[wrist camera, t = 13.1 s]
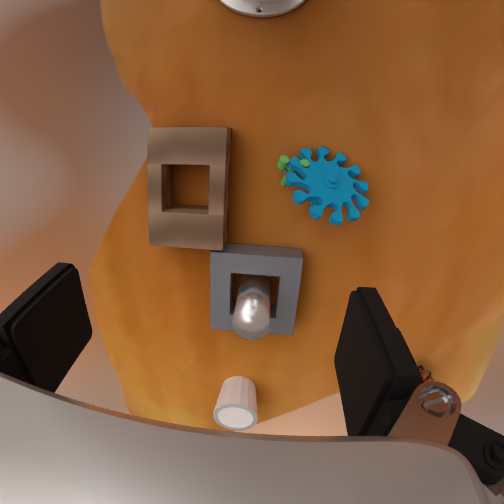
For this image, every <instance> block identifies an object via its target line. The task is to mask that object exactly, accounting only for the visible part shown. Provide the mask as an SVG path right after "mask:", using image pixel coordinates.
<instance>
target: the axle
mask: <svg viewBox="0 0 504 504" xmlns="http://www.w3.org/2000/svg"><path fill="white" fill-rule="evenodd" d="M232 327H233V330H234V331H235V333H236V334H237V335H238V336H240V337H241V338H244V339H247V340H256V339H260V338H262V337H263V336H265V335H266V334H267V332H268V330H269V327H270V279H269V277H268V276H265V275H252V274H244V275H243V276H242V278H241V282H240V287H239V291H238V296H237V301H236V306H235V311H234V316H233V321H232Z"/></svg>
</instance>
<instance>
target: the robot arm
mask: <svg viewBox="0 0 504 504" xmlns="http://www.w3.org/2000/svg"><path fill="white" fill-rule="evenodd" d="M219 1H220V2H221V3H222V4H223V5H224V6H225V7H227V8H229V9H230V10H232V11H234V12H236V13H239V14H242V15H246V16H250V17H261V18H263V17H274V16H279V15H283V14H285V13H288V12H291V11H292V10H294V9H296V8H298V7H299V6H300V5H301V4H302V3H303V2H304V1H305V0H219ZM258 11H262V12H260V13H259V12H258ZM91 336H92V327H91V324H90V320H89V316H88V312H87V308H86V304H85V300H84V295H83V291H82V287H81V282H80V277H79V272H78V270H77V269H76V268H75V267H74V265H73V264H69V263H60V262H59V263H57V264H56V265H54V266H53V267H52V268H51V269H50V270H48V271H47V272H46V273H45V274H44V275H43V276H41V277H40V278H39V279H38V280H37V281H36V282H35V283H33V284H32V285H31V286H30V287H29V288H28V289H27V290H25V292H23V293H22V294H21V295H20V296H19V297H18V298H17V299H15V300H14V301H13V302H12V303H11V304H10V305H9V306H8V307H7V308H6V309H5V310H4V311H3V312H2V313H1V314H0V504H504V436H503V435H501V434H499V433H497V432H495V431H493V430H491V429H489V428H487V427H485V426H484V425H482V424H480V423H478V422H476V421H474V420H472V419H470V418H468V417H466V416H464V415H462V414H460V412H461V406H462V404H461V400H460V398H459V396H458V394H457V393H456V392H455V391H454V390H453V389H452V388H451V387H449V386H448V385H446V384H444V383H440V382H435V381H429V382H424V380H423V378H422V376H421V373H420V371H419V369H418V367H417V365H416V363H415V361H414V358H413V356H412V354H411V352H410V350H409V348H408V346H407V344H406V342H405V340H404V338H403V336H402V334H401V332H400V330H399V329H398V328H396V326H395V324H394V322H393V320H392V318H391V316H390V314H389V312H388V310H387V308H386V307H385V305H384V303H383V301H382V299H381V297H380V295H379V293H378V291H377V290H376V288H371V287H358V288H357V290H356V291H352V292H351V294H350V297H349V302H348V306H347V310H346V314H345V318H344V322H343V326H342V330H341V334H340V338H339V342H338V345H337V349H336V353H335V358H334V364H335V369H336V374H337V379H338V384H339V389H340V394H341V400H342V405H343V411H344V416H345V422H346V428H347V432H348V436H287V435H267V434H252V433H239V432H230V431H221V430H212V429H205V428H198V427H191V426H185V425H179V424H173V423H167V422H162V421H156V420H151V419H147V418H142V417H137V416H133V415H129V414H124V413H120V412H116V411H112V410H108V409H104V408H101V407H97V406H94V405H90V404H87V403H84V402H80V401H77V400H74V399H71V398H67V397H65V396H62V395H59V394H56V393H55V391H56V390H57V388H58V386H59V385H60V383H61V382H62V380H63V379H64V377H65V376H66V374H67V372H68V371H69V370H70V368H71V367H72V365H73V364H74V362H75V361H76V359H77V358H78V356H79V355H80V353H81V352H82V350H83V349H84V347H85V346H86V345H87V343H88V342H89V340H90V339H91Z"/></svg>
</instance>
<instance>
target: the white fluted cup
mask: <svg viewBox="0 0 504 504" xmlns="http://www.w3.org/2000/svg"><path fill="white" fill-rule="evenodd" d="M213 417H214V420H215V421H216V422H217V424H219V425H221V426H222V427H224V428H227V429H231V430H245V429H249V428H251V427H253V426H254V425H255V424H256V423H257V401H256V386H255V384H254V383H253V382H252V381H251V380H250V379H248V378H245V377H242V376H234V377H229V378H228V379H226V380H225V381H224V383H223V385H222V388H221V391H220V394H219V397H218V400H217V403H216V406H215V409H214V412H213Z"/></svg>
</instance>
